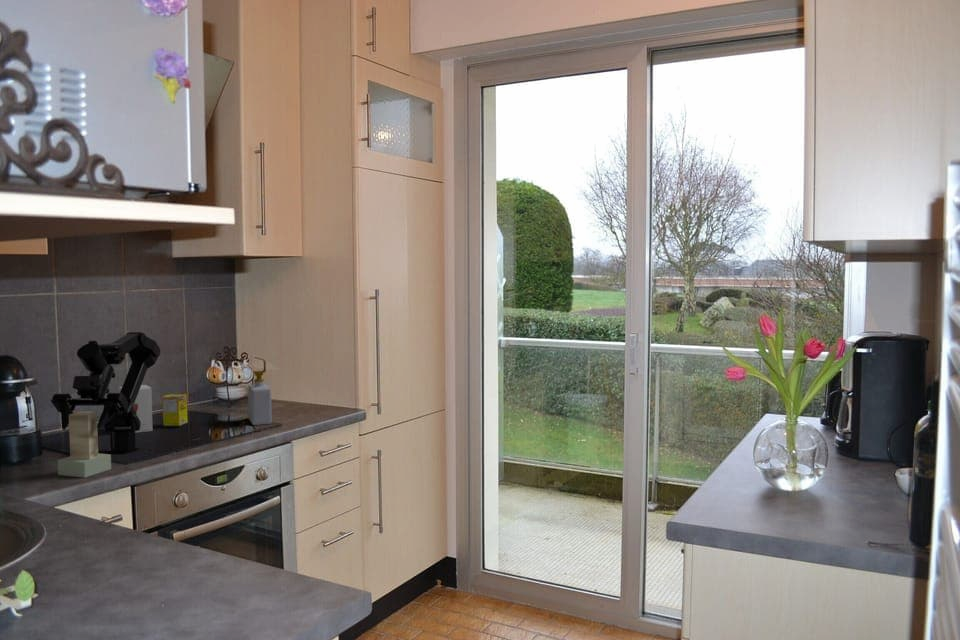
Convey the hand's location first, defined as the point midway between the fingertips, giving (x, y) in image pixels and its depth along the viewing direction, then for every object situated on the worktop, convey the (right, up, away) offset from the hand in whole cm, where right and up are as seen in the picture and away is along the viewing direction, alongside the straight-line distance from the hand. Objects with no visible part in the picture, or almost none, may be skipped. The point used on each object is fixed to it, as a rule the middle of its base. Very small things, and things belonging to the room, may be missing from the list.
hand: (80, 428), depth 202 cm
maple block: (0, -8, +2) cm, 8 cm away
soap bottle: (+28, -8, +69) cm, 75 cm away
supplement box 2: (-10, -9, +55) cm, 57 cm away
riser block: (0, -12, +2) cm, 12 cm away
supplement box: (0, -8, +62) cm, 63 cm away
